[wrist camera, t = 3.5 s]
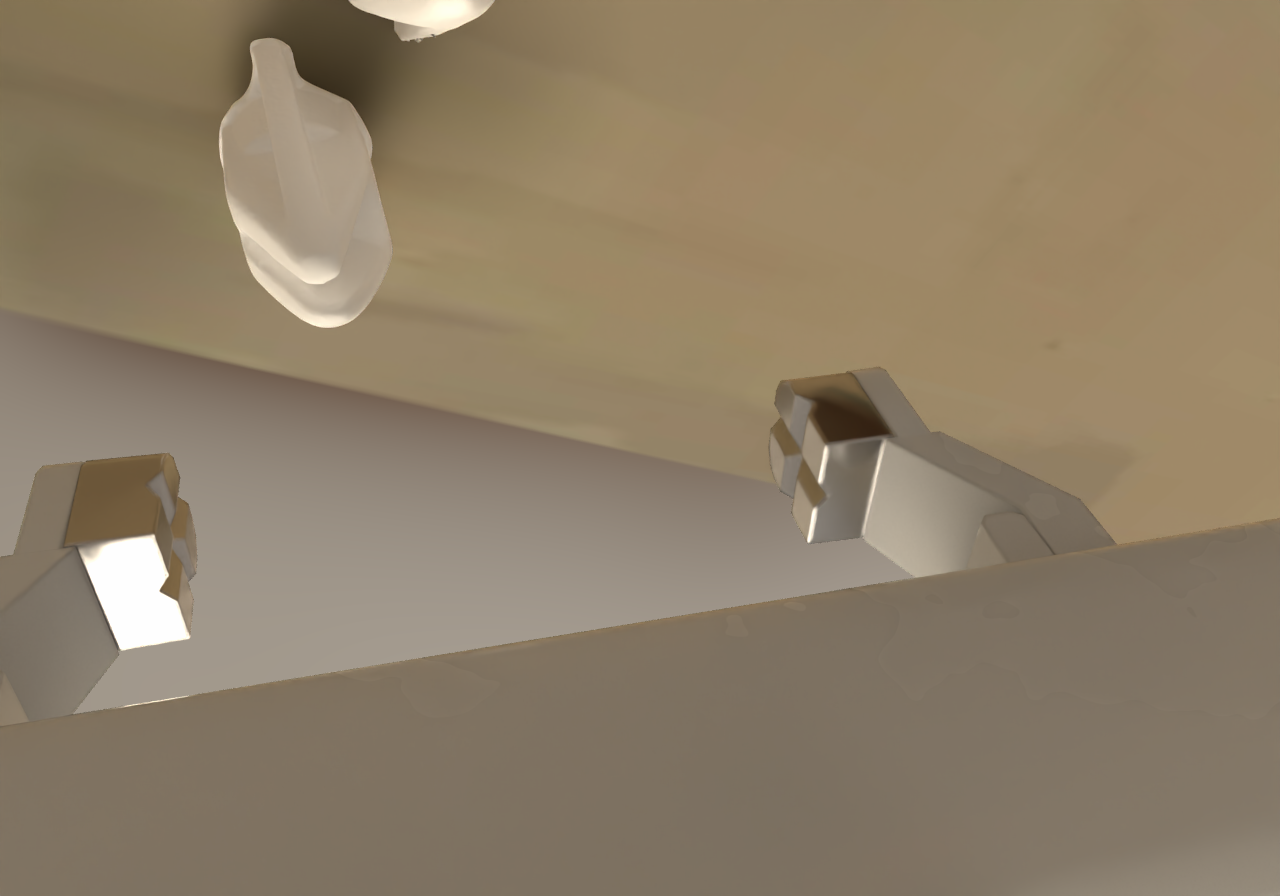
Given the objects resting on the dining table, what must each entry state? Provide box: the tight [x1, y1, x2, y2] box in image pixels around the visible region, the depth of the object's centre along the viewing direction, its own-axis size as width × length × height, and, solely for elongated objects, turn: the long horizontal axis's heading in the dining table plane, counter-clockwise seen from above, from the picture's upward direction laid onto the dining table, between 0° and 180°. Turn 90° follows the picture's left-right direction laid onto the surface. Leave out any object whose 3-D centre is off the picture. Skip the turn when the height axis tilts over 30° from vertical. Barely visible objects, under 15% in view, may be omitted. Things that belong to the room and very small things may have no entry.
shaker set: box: [219, 0, 495, 328], centre depth 25 cm, size 12×4×11 cm, turn 150°
